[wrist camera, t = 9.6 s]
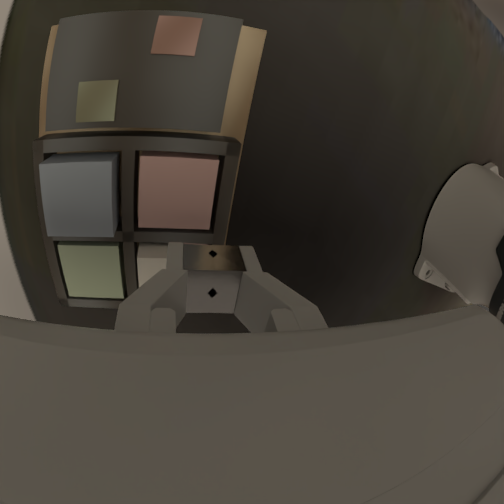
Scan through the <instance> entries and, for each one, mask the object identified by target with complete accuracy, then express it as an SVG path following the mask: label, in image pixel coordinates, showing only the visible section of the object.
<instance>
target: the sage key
mask: <svg viewBox="0 0 504 504" xmlns="http://www.w3.org/2000/svg"><path fill="white" fill-rule="evenodd" d="M57 246H58V251H59V256H60V260H61V265H62V269H63V273H64V277H65V281H66V285H67V289H68V293H69V296H74V297H95V298H124V294H125V287H126V276H125V265H124V253H123V242H109V241H60V242H59V243H58V245H57Z"/></svg>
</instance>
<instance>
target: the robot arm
mask: <svg viewBox="0 0 504 504" xmlns="http://www.w3.org/2000/svg"><path fill="white" fill-rule="evenodd" d="M414 275H415V276H417V277H418V278H419V279H421V280H424V281H426V282H428V283H431V284H433V285H436V286H438V287H440V288H443V289H445V290H448V291H450V292H456V293H457V294H458V295H459V296H460V297H461V298H462V299H463V300H464V301H465V302H466V303H467V304H470V303H472V304H473V305H470V306H466V307H461V308H457V309H452V310H447V311H442V312H437V313H432V314H426V315H421V316H415V317H409V318H403V319H396V320H390V321H383V322H375V323H368V324H360V325H351V326H342V327H332V328H328V326H327V324H326V322H325V320H324V318H323V316H322V315H321V313H320V311H319V309H318V307H317V306H316V305H314V304H313V303H311V302H310V301H308V300H307V299H305V298H304V297H303V296H301V295H300V294H298V293H297V292H295V291H294V290H292V289H291V288H289V287H288V286H286V285H285V284H283V283H282V282H280V281H279V280H278V279H276V278H275V277H273V276H272V275H270V274H269V273H267V272H263V271H262V268H261V266H260V263H259V261H258V258H257V256H256V253H255V251H254V248H253V247H252V246H234V245H210V244H196V243H182V242H169V243H168V250H167V262H166V269H161V270H160V271H159V272H157V273H156V274H155V275H154V276H153V277H151V278H150V279H149V280H148V281H146V282H145V283H144V284H143V285H142V286H141V287H139V288H138V289H137V290H136V291H135V292H133V293H132V294H131V295H130V296H129V297H127V298H126V299H125V300H124V301H123V302H122V303H120V304H119V308H118V313H117V318H116V323H115V329H114V330H105V329H94V328H84V327H75V326H66V325H58V324H51V323H44V322H37V321H31V320H24V319H18V318H13V317H8V316H2V315H0V504H504V178H502V177H501V176H499V173H498V167H497V166H496V165H495V164H493V163H492V162H490V163H487V164H485V165H484V166H481V165H478V164H473V163H472V164H467V165H465V166H463V167H462V168H460V169H459V170H458V171H456V172H455V173H454V174H453V175H452V177H451V178H450V179H449V180H448V181H447V183H446V184H445V186H444V187H443V189H442V190H441V192H440V193H439V195H438V197H437V199H436V201H435V203H434V205H433V207H432V209H431V212H430V214H429V217H428V220H427V223H426V226H425V230H424V235H423V242H422V250H421V254H420V256H419V258H418V261H417V263H416V266H415V268H414ZM476 304H479V305H483V306H486V307H488V308H489V312H488V311H486V310H485V309H483V308H482V307H480V306H478V305H476ZM186 313H234V315H235V316H236V317H237V318H238V319H239V320H240V321H241V322H242V324H243V325H244V326H245V327H246V328H247V329H248V330H249V331H250V332H251V333H226V334H188V333H176V327H177V326H178V324H179V323H180V322H181V320H182V319H183V317H184V316H185V315H186Z"/></svg>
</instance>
